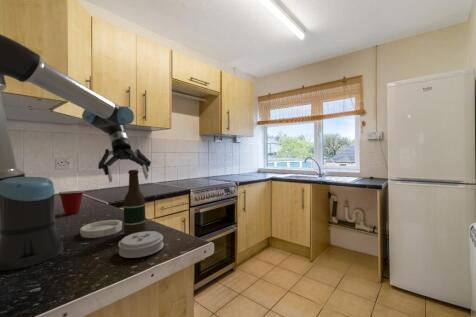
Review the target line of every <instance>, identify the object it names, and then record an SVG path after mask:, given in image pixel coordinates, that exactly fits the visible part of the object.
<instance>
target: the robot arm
mask: <svg viewBox="0 0 476 317" xmlns="http://www.w3.org/2000/svg"><path fill="white" fill-rule="evenodd" d="M5 77H9V78H12V79H15V80H17V81H18V82H20V83H31V84H32V85H35V86H37V87H39V88H41V89H42V90H44V91H47V92H49V93H51V94H53V95H54V96H57V97H59V98H60V99H63V100H65V101H66V102H68V103H71V104H72V105H73V104H74V105H76V106H78V107H79V108H82V109H83V112H82V115H81V118H82V120H84V121H85V122H87V124H89V125H91V126H93V127H95V128H97V129H98V130H100V131H102V132H103V133H105V134H107V135H108V136H109V140H110V145H111V149H112V150H109V149H108V148H105V151H104V154H103V156H102V157H101V159H100V161H99V163H98V167H97V168H98V170H103V173H104V175H105V176H107V177H108V181H109V182H108V183H112V182H113V174H112V169H111V166H112V165H113V164H114V163H115V162H117V161H118V160H121V161H123V160H130V161H132V162H134V163H136V164H137V165H139V166H141V170H142V173H143V175H144V176H143V177H144V179H145V180H148V178H149V167H150V166H151V163H152V161H151V160H149V159H148V157H146V156H145V155H144V154H143V153H142V152H141V150H140V149H138V148H137V149H136V150H133V149H132V146H131V143H130V140H129V137H128V133H127V130H126V125H131V124H132V123H133V122H134V120H135V114H134V111H133V110H132V108H131V107H129V106H124V105H121V106H120V105H118V104H116V103H115V102H113V101H110V100H109V99H108V98H106V97H105V96H102V95H100V94H99V93H97V92H95V91H94V90H92V89H91V88H90V87H87V86H86V85H84V84H82V83H80V82H79V81H77V80H75V79H74V78H72V77H70V76H68V75H67V74H65V73H64V72H62V71H60V70H58V69H57V68H56V67H54V66H51V65H50V64H48V63H47V62H45V61H43V59H42V57H41V55H40V54H38V53H36V52H35V51H34V50H32V49H30V48H28V47H26V46H25V45H23V44H21V43H19V42H18V41H16V40H14V39H11V38H9V37H7V36H5V35H3V34H0V271H12V270H13V271H14V270H17V269H24V268H29V267H31V266H35V265H39V264H41V263H44V262H48V261H49V260H51V259H54V258H56V257H58V256H59V255H60V254H62V253H63V251H64V242H63V240H61V236H60V235H59V232H58V230H57V227H56V214H55V213H56V211H55V192H56V191H55V188H54V182H53V181H52V180H51V179H50V178H47V177H41V176H26V174H25V172H24V171H23V170H21V169H19V168H18V167H17V164H16V158H15V155H14V149H13V145H12V140H11V136H10V134H11V133H10V131H9V126H8V121H7V117H6V111H5V108H4V102H3V97H2V92H3V91H4V90H5V89H7V84H6V83H7V82H6V79H5ZM111 155H112V157H111V158H109V157H110V156H111ZM108 158H109V159H108Z"/></svg>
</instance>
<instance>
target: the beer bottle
mask: <svg viewBox="0 0 476 317" xmlns="http://www.w3.org/2000/svg"><path fill="white" fill-rule="evenodd" d="M139 173H140V171H139V170H138V169H129V170H128V172H127V174H128V191H127V192H126V195H125V197H124V200H123V225H124V226H123V227H124V232H123V233H124V237H126V236H128V235H131V234H134V233H138V232H145V231H147V230H146V229H147V224H146V201H145V197H144V194H143V193H142V192H141V189H140V181H139V180H140V179H139Z"/></svg>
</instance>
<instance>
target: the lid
mask: <svg viewBox="0 0 476 317" xmlns="http://www.w3.org/2000/svg"><path fill="white" fill-rule="evenodd" d="M163 239H164V235H163V234H161V233H160V232H158V231H155V230H154V231H153V230H151V231H150V230H149V231H147V230H146V231H145V232H138V233H134V234H131V235H128V236H124V237H123V238H122V239H121V240H119V242H118V244H117V245H118V247H119V250H118V255H119V256H120V257H121V258H122V257H123V258H128V259H130V258H131V259H132V258H142V257H146V256H150V255H153V254H155V253H158V252H159V251H160V250H162V249H163V247H164V242H163Z"/></svg>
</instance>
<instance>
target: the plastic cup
mask: <svg viewBox="0 0 476 317" xmlns="http://www.w3.org/2000/svg"><path fill="white" fill-rule="evenodd" d="M84 192H85V190H68V191H67V190H65V191H58V194H59V197H60V200H61V204H62V205H61V206H62V208H63V212H64V215H65V216H73V215H79V213H80V208H81V205H82V204H81V203H82V199H83V195H84Z"/></svg>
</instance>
